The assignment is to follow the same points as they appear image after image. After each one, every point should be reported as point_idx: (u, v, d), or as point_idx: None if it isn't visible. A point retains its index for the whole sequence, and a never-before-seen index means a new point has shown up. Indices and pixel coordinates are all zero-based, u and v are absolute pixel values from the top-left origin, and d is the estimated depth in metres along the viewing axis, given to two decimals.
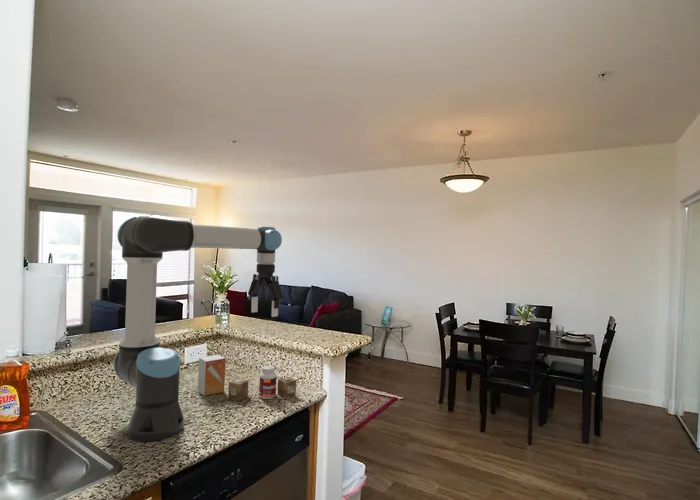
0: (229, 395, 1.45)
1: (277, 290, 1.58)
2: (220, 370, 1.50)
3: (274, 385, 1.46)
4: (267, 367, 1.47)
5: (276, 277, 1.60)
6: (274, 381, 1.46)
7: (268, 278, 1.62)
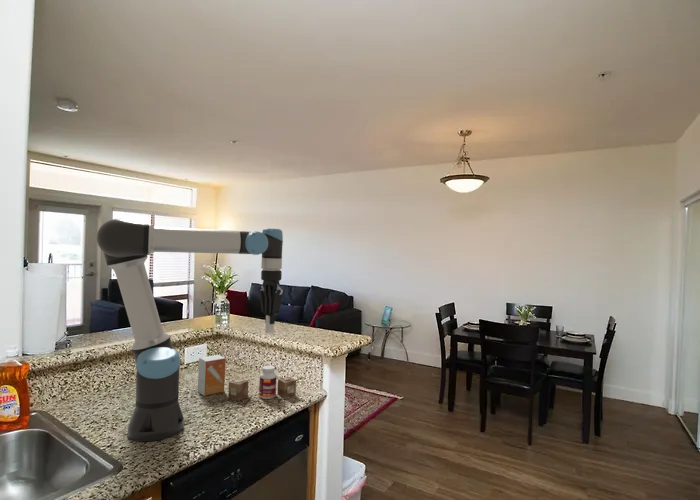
0: (229, 395, 1.45)
1: (276, 305, 1.44)
2: (220, 370, 1.50)
3: (274, 385, 1.46)
4: (267, 367, 1.47)
5: (281, 292, 1.44)
6: (274, 381, 1.46)
7: (274, 286, 1.45)
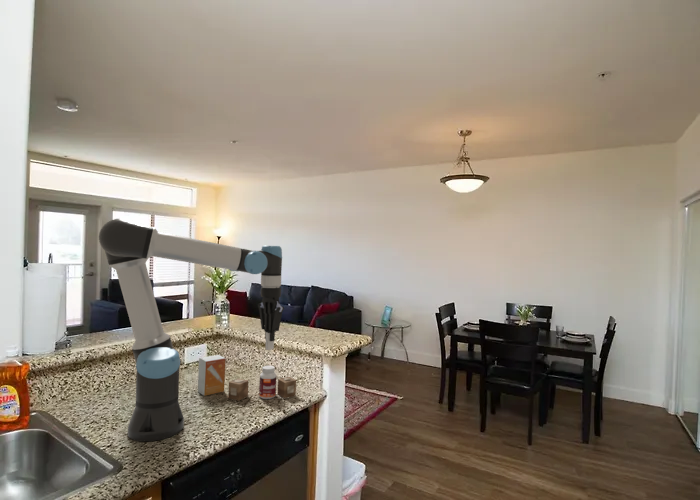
0: (229, 395, 1.45)
1: (276, 323, 1.44)
2: (220, 370, 1.50)
3: (274, 385, 1.46)
4: (267, 367, 1.47)
5: (281, 309, 1.44)
6: (274, 381, 1.46)
7: (273, 304, 1.45)
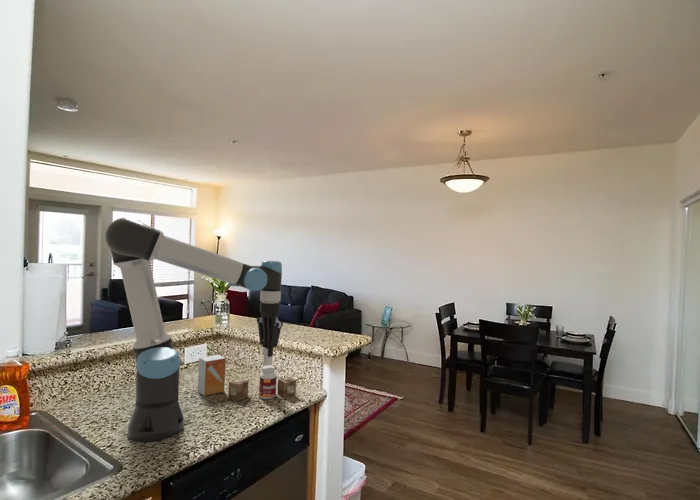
0: (229, 395, 1.45)
1: (275, 338, 1.44)
2: (220, 370, 1.50)
3: (274, 385, 1.46)
4: (267, 367, 1.47)
5: (280, 325, 1.44)
6: (274, 381, 1.46)
7: (272, 319, 1.45)
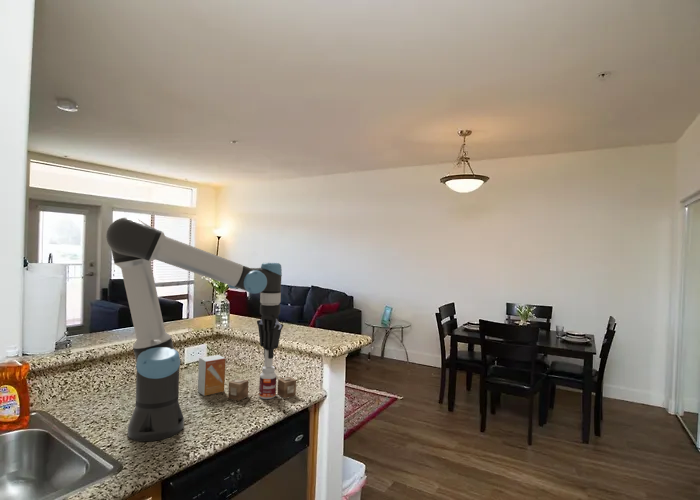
0: (229, 395, 1.45)
1: (275, 340, 1.44)
2: (220, 370, 1.50)
3: (274, 385, 1.46)
4: (267, 367, 1.47)
5: (280, 327, 1.44)
6: (274, 381, 1.46)
7: (273, 321, 1.45)
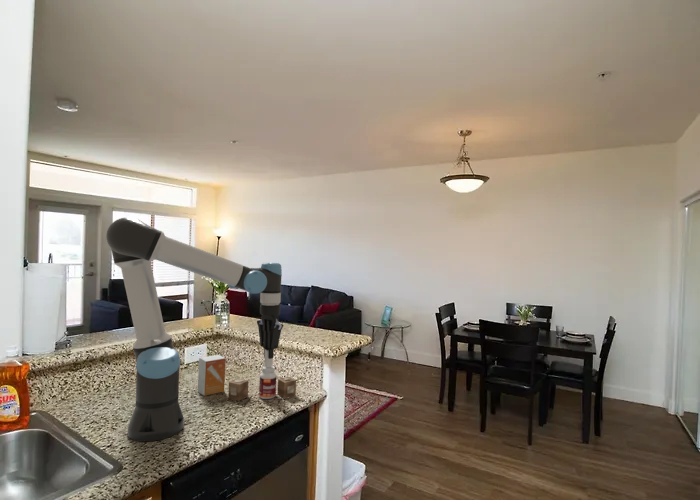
0: (229, 395, 1.45)
1: (275, 340, 1.44)
2: (220, 370, 1.50)
3: (274, 385, 1.46)
4: None
5: (280, 327, 1.44)
6: (274, 381, 1.46)
7: (273, 321, 1.45)
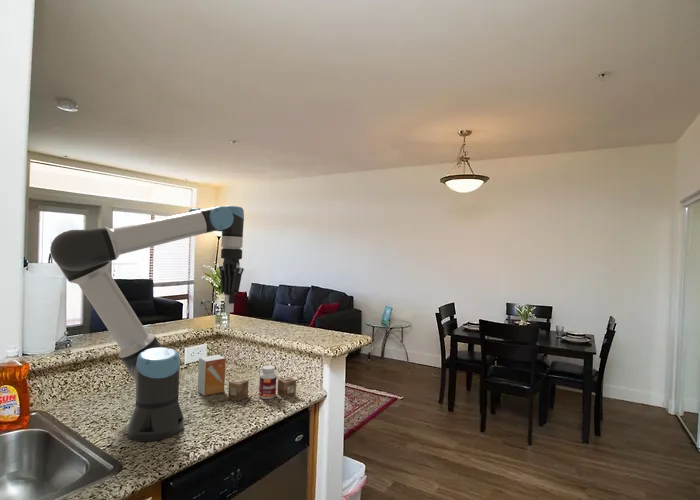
0: (229, 395, 1.45)
1: (235, 284, 1.42)
2: (220, 370, 1.50)
3: (274, 385, 1.46)
4: (267, 367, 1.47)
5: (240, 270, 1.41)
6: (274, 381, 1.46)
7: (233, 265, 1.42)
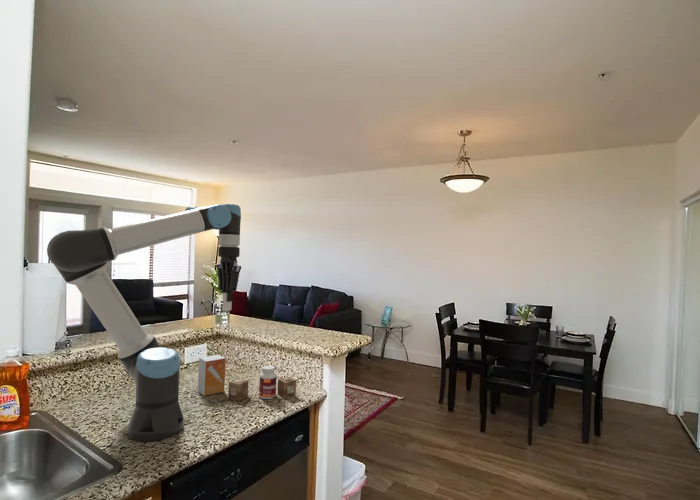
0: (229, 395, 1.45)
1: (233, 282, 1.42)
2: (220, 370, 1.50)
3: (274, 385, 1.46)
4: (267, 367, 1.47)
5: (238, 268, 1.41)
6: (274, 381, 1.46)
7: (231, 263, 1.42)
